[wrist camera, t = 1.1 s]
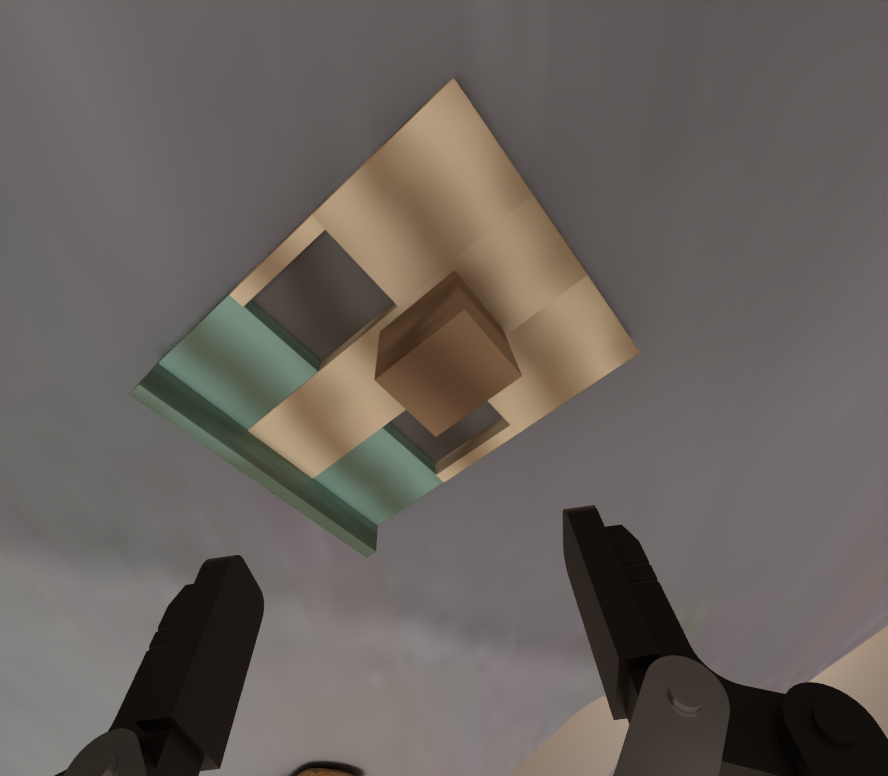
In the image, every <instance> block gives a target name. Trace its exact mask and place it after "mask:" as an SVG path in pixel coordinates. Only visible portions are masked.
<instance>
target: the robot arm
mask: <svg viewBox="0 0 888 776" xmlns="http://www.w3.org/2000/svg"><path fill="white" fill-rule="evenodd" d="M563 549H564V558H565V564H566V568H567V572H568V576H569V579H570V582H571V586H572V589H573V592H574V595H575V598H576V602H577V605H578V608H579V611H580V614H581V617H582V621H583V624H584V627H585V630H586V633H587V636H588V640H589V643H590V646H591V649H592V652H593V656H594V659H595V662H596V665H597V668H598V671H599V675H600V678H601V681H602V684H603V687H604V691H605V694H606V697H607V700H608V703H609V706H610V709H611V713H612V716H613V719H614V720H618V719H625V718H627V719H628V722H629V728H628V731H627V734H626V738H625V741H624V744H623V747H622V750H621V754H620V757H619V760H618V763H617V766H616V769H615V772H614V775H613V776H888V739H887V737H886V736H885V734H884V733H883V731H882V730H881V728H880V727H879V725H878V724H877V722H876V721H875V720H874V718H873V717H872V716H871V715H870V714H869V713H868V712H867V710H866V709H865V708H864V707H863V706H861V705H860V704H859V703H858V702H857V701H855V700H854V699H852V698H851V697H850V696H848V695H847V694H845V693H843V692H842V691H840V690H837V689H835V688H833V687H831V686H827V685H824V684H820V683H813V682H806V683H800V684H797V685H795V686H793V687H792V688H790V689H789V690H788V692H787V693H786V694H783V693H778V692H773V691H768V690H763V689H758V688H753V687H749V686H744V685H740V684H737V683H734V682H731V681H729V680H727V679H725V678H723V677H721V676H719V675H718V674H716V673H715V672H713V671H712V670H711V669H709V668H708V667H707V666H706V665H705V664H704V663H703V662H702V661H701V660H700V659H699V658H698V657H697V655H696V654H695V653H694V651H693V649H692V648H691V646H690V644H689V642H688V640H687V638H686V636H685V634H684V632H683V630H682V628H681V626H680V624H679V622H678V620H677V618H676V616H675V613H674V611H673V609H672V607H671V605H670V603H669V601H668V599H667V597H666V595H665V593H664V591H663V589H662V587H661V585H660V583H659V582H658V581H657V577H656V575H655V573H654V571H653V569H652V567H651V565H649V561H648V559H647V557H646V555H645V553H644V550H643V548H642V546H641V544H640V542H639V541H638V540H637V539H636V538H635V537H634V536H633V535H632V534H631V533H630V532H629V531H628V530H627V529H626V528H624V527H623V526H622V525H615V526H608V527H605V526H604V524H603V522H602V519H601V517H600V515H599V512H598V510H597V508H596V507H595V506H594V505H591V506H584V507H577V508H570V509H564V510H563ZM263 612H264V599H263V594H262V591H261V589H260V587H259V586H258V584H257V582H256V580H255V579H254V577H253V575H252V573H251V572H250V570H249V568H248V566H247V564H246V563H245V561H244V559H243V558H242V557H241V556H240V555H234V556H227V557H220V558H213V559H208V560H206V561H205V562H204V563H203V565H202V566H201V568H200V571H199V573H198V575H197V578H196V580H195V582H194V584H190V585H185V586H184V588H183V589H182V590H181V591H180V592H179V593H178V595H177V596H176V597H175V598H174V599H173V601H172V602H171V603H170V604H169V605H168V607H167V609H166V611H165V614H164V616H163V618H162V620H161V622H160V624H159V626H158V632H156V633H155V635H154V637H153V639H152V641H151V643H150V645H149V651H147V652H146V654H145V656H144V658H143V660H142V663H141V665H140V667H139V669H138V671H137V673H136V675H135V677H134V680H133V682H132V684H131V686H130V688H129V690H128V692H127V694H126V697H125V699H124V701H123V703H122V705H121V707H120V709H119V711H118V714H117V716H116V718H115V720H114V722H113V724H112V726H111V727H110V729H109V730H108V732H106V733H104V734H102V735H100V736H99V737H97V738H95V739H94V740H93V741H91V742H90V743H89V744H88V745H87V746H85V747H84V748H83V749H82V750H81V751H80V752H79V754H78V755H77V756H76V757H75V758H74V760H73V761H72V762H71V764H70V765H69V767H68V768H67V770H65V771H63V772H61V773H59V774H57V775H55V776H199V772H200V771H205V770H213V769H220V767H221V763H222V759H223V756H224V752H225V749H226V745H227V742H228V738H229V735H230V731H231V728H232V724H233V721H234V717H235V713H236V710H237V706H238V703H239V699H240V696H241V692H242V689H243V685H244V682H245V678H246V675H247V671H248V667H249V664H250V660H251V657H252V653H253V650H254V646H255V643H256V639H257V636H258V632H259V628H260V625H261V621H262V618H263Z"/></svg>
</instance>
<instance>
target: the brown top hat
mask: <svg viewBox="0 0 888 776" xmlns="http://www.w3.org/2000/svg"><path fill="white" fill-rule="evenodd" d="M297 776H355V775H353V774H350V773H347V772H344V771H340V770H335V769H324V768H311V769H307V770H305V771H303V772H301V773H300V774H298V775H297Z"/></svg>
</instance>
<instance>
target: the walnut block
mask: <svg viewBox="0 0 888 776" xmlns="http://www.w3.org/2000/svg"><path fill="white" fill-rule="evenodd" d="M520 377H522V374H521V372H520V369H519V367H518V364H517V362H516V360H515V357H514V355H513V352H512V350H511V347H510V345H509V342H508V340H507V338H506V335H505V333H504V330H503V328H502V327H501V326H500V325H499V324H498V322H497V321H496V320H495V319H494V318H493V317H492V315H491V314H490V313H489V312H488V311H487V309H486V308H485V307H484V306H483V305H482V303H481V302H480V301H479V300H478V299H477V297H476V296H475V295H474V294H473V293H472V291H471V290H470V289H469V288H468V287H467V285H466V284H465V283H464V282H463V281H462V279H461V278H460V277H459V276H458V275H457V274H456V272H455V271H453V272H452V273H450V274H449V275H448V276H447V277H446V278H444V279H443V280H442V281H441V282H440V283H438V284H437V285H436V286H435V287H433V288H432V289H431V290H430V291H429V292H427V293H426V294H425V295H424V296H422V297H421V298H420V299H419V300H418V301H416V302H415V303H414V304H413V305H411V306H410V307H409V308H408V309H407V310H405V311H404V312H403V313H402V314H400V315H399V316H398V317H397V318H396V319H394V320H393V321H392V322H391V323H389V324H388V325H387V326H386V327H385V328H383V329H382V330H381V331H380V332H379V342H378V351H377V360H376V369H375V378H374V380H375V381H376V382H377V383H378V384H379V385H380V386H381V387H382V388H383V389H384V390H386V391H387V392H388V393H389V394H390V395H391V396H392V397H393V398H394V399H395V400H396V401H397V402H398V403H400V404H401V405H402V406H403V407H404V408H405V409H406V410H407V411H408V412H409V413H410V414H411V415H413V416H414V417H415V418H416V419H417V420H418V421H419V422H420V423H421V424H422V425H423V426H424V427H425V428H427V429H428V430H429V431H430V432H431V433H432V434H433V435H434V436H435V437H436V436H438V435H439V434H441V433H442V432H443V431H445V430H446V429H448V428H449V427H451V426H452V425H453V424H455V423H456V422H458V421H459V420H461V419H462V418H463V417H465V416H466V415H468V414H469V413H471V412H472V411H473V410H475V409H476V408H478V407H479V406H480V405H482V404H483V403H485V402H486V401H488V400H489V399H490V398H492V397H493V396H495V395H496V394H498V393H499V392H500V391H502V390H503V389H505V388H506V387H507V386H509V385H510V384H512V383H513V382H515V381H516V380H517V379H519V378H520Z"/></svg>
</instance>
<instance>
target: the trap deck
mask: <svg viewBox="0 0 888 776" xmlns="http://www.w3.org/2000/svg"><path fill="white" fill-rule="evenodd" d="M453 271H455V272H456V274H457V275H458V276H459V277H460V278H461V279H462V281H463V282H464V283H465V284H466V285H467V287H468V288H469V289H470V290H471V291H472V293H473V294H474V295H475V296H476V297H477V299H478V300H479V301H480V302H481V303H482V305H483V306H484V307H485V308H486V309H487V311H488V312H489V313H490V314H491V315H492V317H493V318H494V319H495V320H496V321H497V322H498V324H499V325H500V326H501V327H502V328H503V330H504V333H505V335H506V338H507V340H508V342H509V345H510V347H511V350H512V352H513V355H514V357H515V360H516V362H517V364H518V367H519V369H520V372H521V374H522V377H520V378H519V379H517V380H516V381H515V382H513V383H512V384H510V385H509V386H507V387H506V388H505V389H503V390H502V391H500V392H499V393H498V394H496V395H495V396H493V397H492V398H490V399H489V400H488V401H486V402H485V403H483V404H482V405H480V406H479V407H478V408H476V409H475V410H473V411H472V412H471V413H469V414H468V415H466V416H465V417H463V418H462V419H461V420H459V421H458V422H456V423H455V424H453V425H452V426H451V427H449V428H448V429H446V430H445V431H443V432H442V433H441V434H439V435H438V436H436V437H435V436H434V435H433V434H432V433H431V432H430V431H429V430H428V429H427V428H425V427H424V426H423V425H422V424H421V423H420V422H419V421H418V420H417V419H416V418H415V417H414V416H413V415H411V414H410V413H409V412H408V411H407V410H406V409H405V408H404V407H403V406H402V405H401V404H400V403H398V402H397V401H396V400H395V399H394V398H393V397H392V396H391V395H390V394H389V393H388V392H387V391H386V390H384V389H383V388H382V387H381V386H380V385H379V384H378V383H377V382H376V381H375V380H374V378H375V369H376V360H377V351H378V342H379V332H380V331H381V330H382V329H383V328H385V327H386V326H387V325H388V324H389V323H391V322H392V321H393V320H394V319H396V318H397V317H398V316H399V315H400V314H402V313H403V312H404V311H405V310H407V309H408V308H409V307H410V306H411V305H413V304H414V303H415V302H416V301H418V300H419V299H420V298H421V297H422V296H424V295H425V294H426V293H427V292H429V291H430V290H431V289H432V288H433V287H435V286H436V285H437V284H438V283H440V282H441V281H442V280H443V279H444V278H446V277H447V276H448V275H449V274H450V273H452V272H453ZM639 353H640V351H639V350H638V348H637V347H636V346H635V344H634V343H633V341H632V340H631V338H630V337H629V335H628V334H627V332H626V331H625V329H624V328H623V326H622V325H621V323H620V322H619V320H618V319H617V318H616V316H615V315H614V313H613V312H612V310H611V309H610V307H609V306H608V304H607V303H606V301H605V300H604V298H603V297H602V295H601V294H600V292H599V291H598V290H597V288H596V287H595V285H594V284H593V282H592V281H591V279H590V278H589V276H588V275H587V273H586V272H585V270H584V269H583V267H582V266H581V264H580V263H579V262H578V260H577V259H576V257H575V256H574V254H573V253H572V251H571V250H570V248H569V247H568V245H567V244H566V242H565V241H564V239H563V238H562V236H561V235H560V234H559V232H558V231H557V229H556V228H555V226H554V225H553V223H552V222H551V220H550V219H549V217H548V216H547V214H546V213H545V211H544V210H543V208H542V207H541V206H540V204H539V203H538V201H537V200H536V198H535V197H534V195H533V194H532V192H531V191H530V189H529V188H528V186H527V185H526V183H525V182H524V180H523V179H522V178H521V176H520V175H519V173H518V172H517V170H516V169H515V167H514V166H513V164H512V163H511V161H510V160H509V158H508V157H507V155H506V154H505V152H504V151H503V150H502V148H501V147H500V145H499V144H498V142H497V141H496V139H495V138H494V136H493V135H492V133H491V132H490V130H489V129H488V127H487V126H486V124H485V123H484V122H483V120H482V119H481V117H480V116H479V114H478V113H477V111H476V110H475V108H474V107H473V105H472V104H471V102H470V101H469V99H468V98H467V96H466V95H465V94H464V92H463V91H462V89H461V88H460V86H459V85H458V83H457V82H456V80H455V79H454V78H452V79H450V80H449V81H448V82H447V83H446V84H445V85H444V86H443V87H442V88H441V89H440V90H438V91H437V92H436V93H435V94H434V95H433V96H432V97H431V98H430V99H429V100H428V101H427V102H426V103H425V104H424V105H423V106H422V107H421V108H420V109H419V110H418V111H417V112H416V113H415V114H414V115H413V116H412V117H411V118H410V119H409V120H407V121H406V122H405V123H404V124H403V125H402V126H401V127H400V128H399V129H398V130H397V131H396V132H395V133H394V134H393V135H392V136H391V137H390V138H389V139H388V140H387V141H386V142H385V143H384V144H383V145H382V146H381V147H380V148H379V149H378V150H376V151H375V152H374V153H373V154H372V155H371V156H370V157H369V158H368V159H367V160H366V161H365V162H364V163H363V164H362V165H361V166H360V167H359V168H358V169H357V170H356V171H355V172H354V173H353V174H352V175H351V176H350V177H349V178H348V179H346V180H345V181H344V182H343V183H342V184H341V185H340V186H339V187H338V188H337V189H336V190H335V191H334V192H333V193H332V194H331V195H330V196H329V197H328V198H327V199H326V200H325V201H324V202H323V203H322V204H321V205H320V206H319V207H318V208H317V209H315V210H314V211H313V212H312V213H311V214H310V215H309V216H308V217H307V218H306V219H305V220H304V221H303V222H302V223H301V224H300V225H299V226H298V227H297V228H296V229H295V230H294V231H293V232H292V233H291V234H290V235H289V236H288V237H287V238H286V239H284V240H283V241H282V242H281V243H280V244H279V245H278V246H277V247H276V248H275V249H274V250H273V251H272V252H271V253H270V254H269V255H268V256H267V257H266V258H265V259H264V260H263V261H262V262H261V263H260V264H259V265H258V266H257V267H256V268H254V269H253V270H252V271H251V272H250V273H249V274H248V275H247V276H246V277H245V278H244V279H243V280H242V281H241V282H240V283H239V284H238V285H237V286H236V287H235V288H234V289H233V290H232V291H231V292H230V293H229V294H228V295H227V296H226V297H225V298H223V299H222V300H221V301H220V302H219V303H218V304H217V305H216V306H215V307H214V308H213V309H212V310H211V311H210V312H209V313H208V314H207V315H206V316H205V317H204V318H203V319H202V320H201V321H200V322H199V323H198V324H197V325H196V326H195V327H194V328H192V329H191V330H190V331H189V332H188V333H187V334H186V335H185V336H184V337H183V338H182V339H181V340H180V341H179V342H178V343H177V344H176V345H175V346H174V347H173V348H172V349H171V350H170V351H169V352H168V353H167V354H166V355H165V356H164V357H163V358H161V360H160V361H159V362H158V363H157V364H156V365H155V366H154V367H153V368H152V369H151V370H150V372H149V373H148V374H147V375H146V376H145V377H144V378H143V379H142V380H141V381H140V383H139V384H138V385H137V386H136V387H135V388H134V389H133V390H132V391H131V392H130V393H129V395H131V396H132V397H134V398H135V399H137V400H138V401H139V402H141V403H142V404H144V405H145V406H147V407H148V408H150V409H151V410H153V411H154V412H155V413H157V414H158V415H160V416H161V417H163V418H164V419H166V420H167V421H169V422H170V423H171V424H173V425H174V426H176V427H177V428H179V429H180V430H182V431H183V432H185V433H186V434H187V435H189V436H190V437H192V438H193V439H195V440H196V441H198V442H199V443H200V444H202V445H203V446H205V447H206V448H208V449H209V450H211V451H212V452H214V453H215V454H216V455H218V456H219V457H221V458H222V459H224V460H225V461H227V462H228V463H230V464H231V465H232V466H234V467H235V468H237V469H238V470H240V471H241V472H243V473H244V474H246V475H247V476H248V477H250V478H251V479H253V480H254V481H256V482H257V483H259V484H260V485H261V486H263V487H264V488H266V489H267V490H269V491H270V492H272V493H273V494H275V495H276V496H277V497H279V498H280V499H282V500H283V501H285V502H286V503H288V504H289V505H291V506H292V507H293V508H295V509H296V510H298V511H299V512H301V513H302V514H304V515H305V516H307V517H308V518H309V519H311V520H312V521H314V522H315V523H317V524H318V525H320V526H321V527H322V528H324V529H325V530H327V531H328V532H330V533H331V534H333V535H334V536H336V537H337V538H338V539H340V540H341V541H343V542H344V543H346V544H347V545H349V546H350V547H352V548H353V549H354V550H356V551H357V552H359V553H360V554H362V555H363V556H365V557H366V558H367V557H368V556H370V555H371V554H373V553H375V552H376V542H377V527H378V525H380V524H381V523H383V522H384V521H386V520H387V519H389V518H390V517H392V516H393V515H395V514H396V513H398V512H399V511H401V510H402V509H404V508H405V507H407V506H408V505H410V504H411V503H413V502H414V501H416V500H417V499H419V498H420V497H422V496H423V495H425V494H426V493H428V492H429V491H431V490H432V489H434V488H435V487H437V486H438V485H440V484H441V483H443V482H446V481H447V480H449V479H450V478H452V477H453V476H455V475H456V474H458V473H459V472H461V471H462V470H464V469H465V468H467V467H468V466H470V465H471V464H473V463H474V462H476V461H477V460H479V459H480V458H482V457H483V456H485V455H486V454H488V453H489V452H491V451H492V450H494V449H495V448H497V447H498V446H500V445H501V444H503V443H504V442H506V441H507V440H509V439H511V438H512V437H514V436H515V435H517V434H518V433H520V432H521V431H523V430H524V429H526V428H527V427H529V426H530V425H532V424H533V423H535V422H536V421H538V420H539V419H541V418H542V417H544V416H545V415H547V414H548V413H550V412H551V411H553V410H554V409H556V408H557V407H559V406H560V405H562V404H563V403H565V402H566V401H568V400H569V399H571V398H572V397H574V396H575V395H577V394H578V393H580V392H581V391H583V390H584V389H586V388H587V387H589V386H590V385H592V384H593V383H595V382H596V381H598V380H599V379H601V378H602V377H604V376H605V375H607V374H608V373H610V372H611V371H613V370H615V369H616V368H618V367H619V366H621V365H622V364H624V363H625V362H627V361H628V360H630V359H631V358H633V357H634V356H636V355H637V354H639Z"/></svg>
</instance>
